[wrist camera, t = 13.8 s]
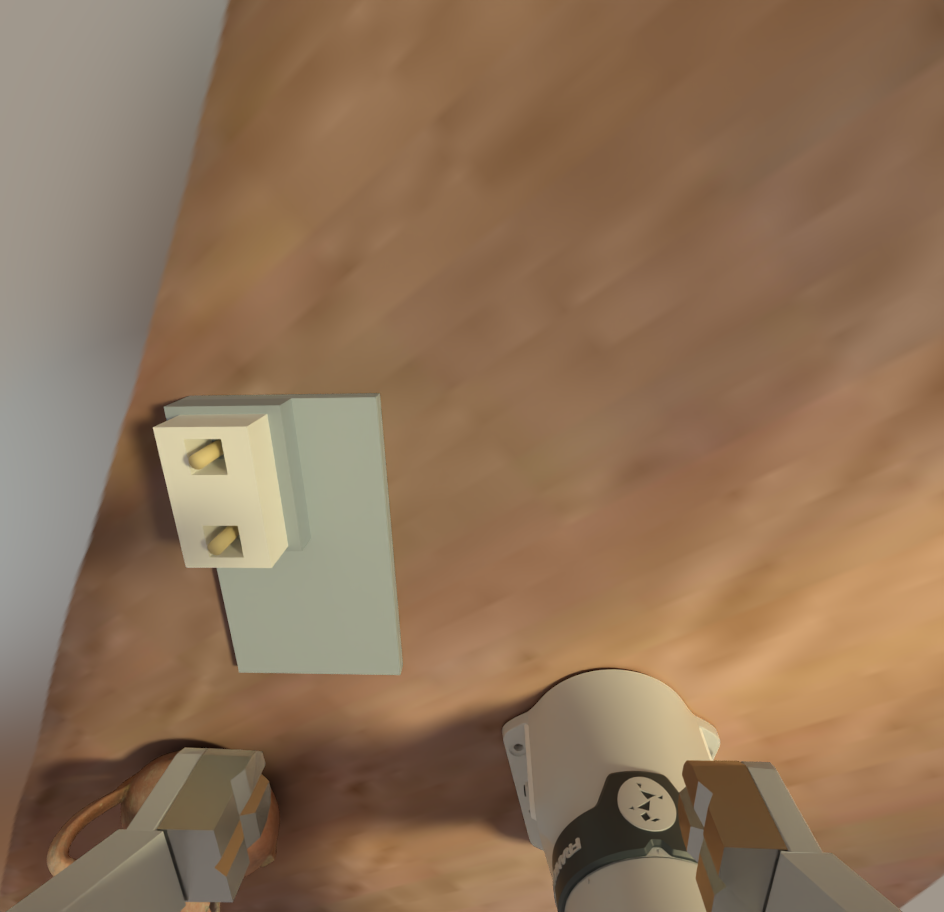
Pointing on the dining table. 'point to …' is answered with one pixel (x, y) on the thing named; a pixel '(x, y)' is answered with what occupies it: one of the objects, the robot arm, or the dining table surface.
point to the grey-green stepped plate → (315, 540)
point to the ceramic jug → (131, 801)
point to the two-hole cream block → (224, 489)
